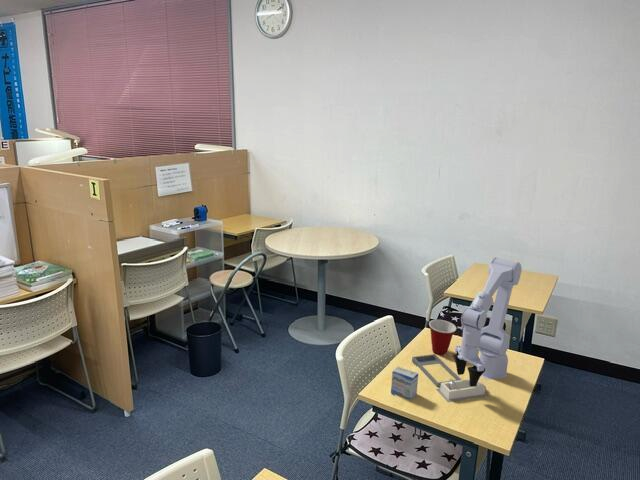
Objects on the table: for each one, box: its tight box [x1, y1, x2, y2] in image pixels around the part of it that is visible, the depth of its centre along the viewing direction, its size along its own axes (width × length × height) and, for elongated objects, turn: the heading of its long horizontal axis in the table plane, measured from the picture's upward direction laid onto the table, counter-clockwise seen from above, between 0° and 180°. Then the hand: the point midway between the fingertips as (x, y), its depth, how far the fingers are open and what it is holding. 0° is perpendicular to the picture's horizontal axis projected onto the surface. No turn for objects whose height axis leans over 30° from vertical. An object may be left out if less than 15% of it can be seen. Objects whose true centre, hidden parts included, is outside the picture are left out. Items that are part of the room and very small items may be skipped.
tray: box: [411, 353, 462, 388], centre depth 176 cm, size 10×20×2 cm, turn 15°
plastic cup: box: [428, 319, 457, 356], centre depth 191 cm, size 11×11×12 cm
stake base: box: [435, 378, 490, 403], centre depth 162 cm, size 16×8×6 cm, turn 105°
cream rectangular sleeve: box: [439, 378, 487, 400], centre depth 162 cm, size 16×6×3 cm, turn 105°
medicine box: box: [390, 366, 419, 400], centre depth 161 cm, size 8×4×9 cm, turn 55°
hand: (466, 379), depth 162 cm, fingers open, 7 cm apart
